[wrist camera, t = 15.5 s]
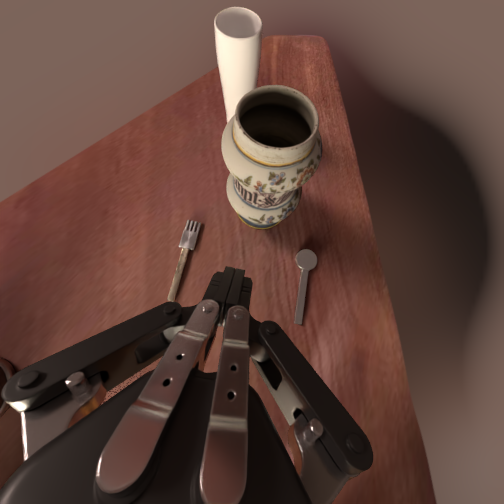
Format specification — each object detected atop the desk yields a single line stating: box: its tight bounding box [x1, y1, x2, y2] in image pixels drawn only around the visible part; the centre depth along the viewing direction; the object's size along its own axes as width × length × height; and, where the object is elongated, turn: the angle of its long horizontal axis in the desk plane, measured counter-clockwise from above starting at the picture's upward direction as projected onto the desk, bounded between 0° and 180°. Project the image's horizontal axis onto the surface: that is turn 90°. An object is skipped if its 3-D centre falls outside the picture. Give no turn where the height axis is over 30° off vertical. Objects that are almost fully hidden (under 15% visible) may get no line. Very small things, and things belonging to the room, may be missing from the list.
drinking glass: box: [214, 7, 262, 123], centre depth 33 cm, size 7×7×15 cm
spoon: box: [294, 249, 317, 325], centre depth 32 cm, size 13×4×1 cm, turn 169°
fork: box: [167, 220, 201, 302], centre depth 32 cm, size 14×3×1 cm, turn 169°
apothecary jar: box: [222, 85, 322, 229], centre depth 27 cm, size 12×12×18 cm
